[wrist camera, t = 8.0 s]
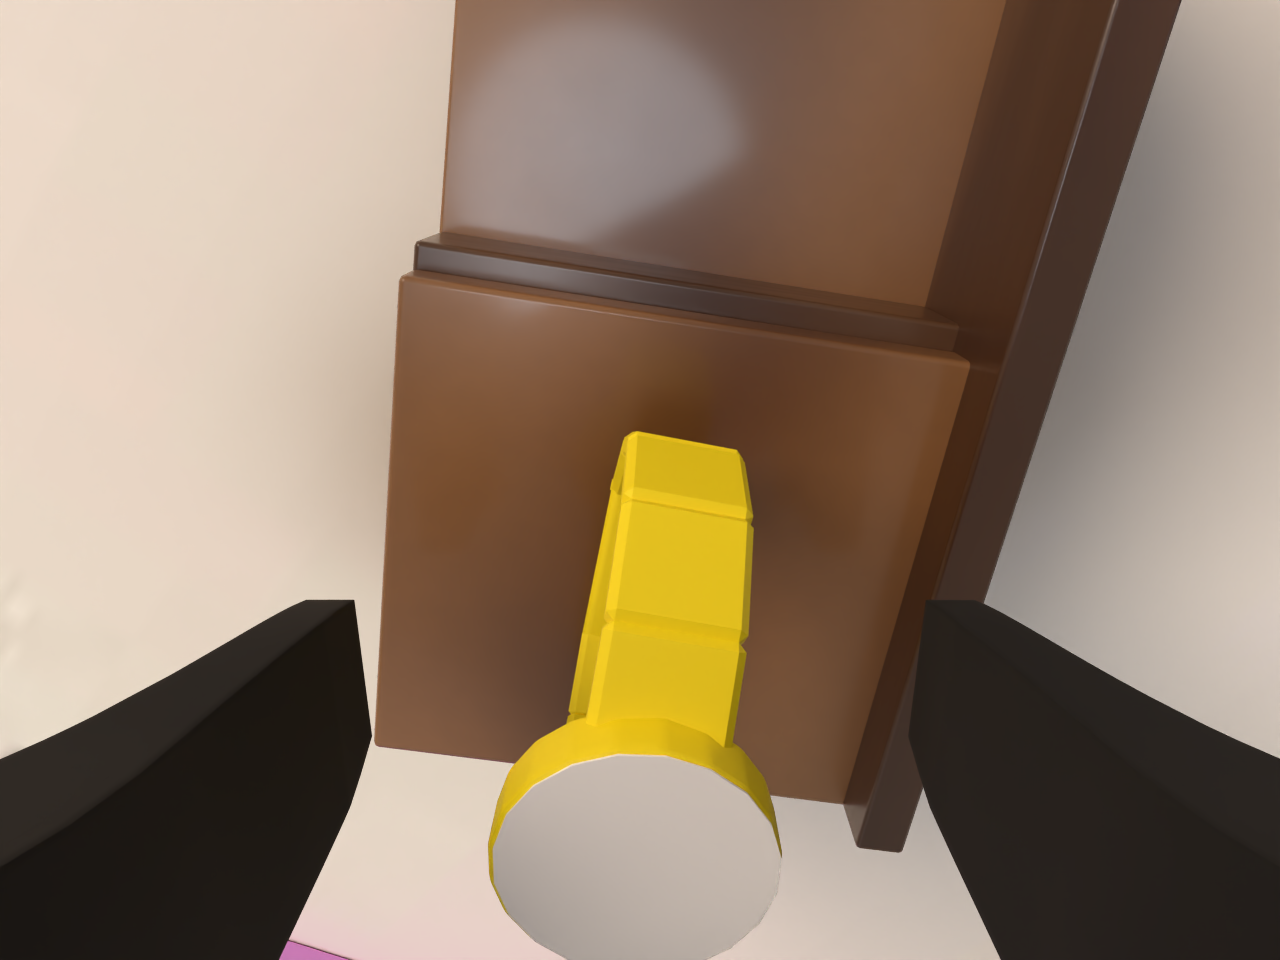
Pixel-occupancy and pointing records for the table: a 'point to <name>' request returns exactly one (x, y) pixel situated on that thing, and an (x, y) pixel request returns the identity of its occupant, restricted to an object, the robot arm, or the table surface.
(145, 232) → the table surface
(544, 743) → the watch
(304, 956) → the bracket
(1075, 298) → the step shelf
